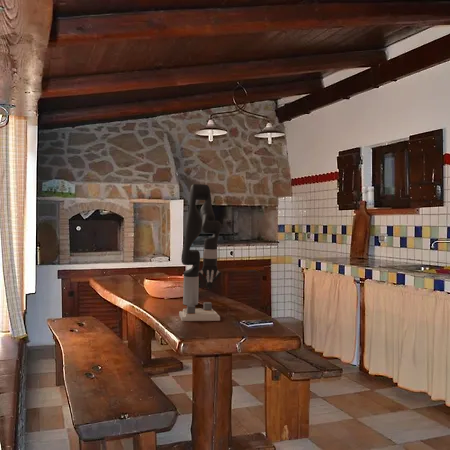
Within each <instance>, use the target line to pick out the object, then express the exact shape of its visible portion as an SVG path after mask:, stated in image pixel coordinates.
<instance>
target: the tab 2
mask: <svg viewBox="0 0 450 450" xmlns="http://www.w3.org/2000/svg"><path fill="white" fill-rule="evenodd" d="M212 306H213V303H212V302H211V301H205V302H204V301H203V308H202V309H203V310H212V309H213V307H212Z"/></svg>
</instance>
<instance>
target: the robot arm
mask: <svg viewBox="0 0 450 450" xmlns="http://www.w3.org/2000/svg"><path fill="white" fill-rule="evenodd" d="M189 189H190V191H189V204H188V214H187V219H186V227H185V236H184V241H183V245H182V246H183V248H182V252H181V263H182V265H184V266H191V268H188V269H186V270H184V271H183V284H182V285H183V289H182V290H183V292H182V293H183V294H182V296H183V297H182V304H183V305H185V306H187V305H195V306H198V305H199V281H200V280H199V277H201V279H202V280H203V281H204V282H206V289H207V290H211V289H212V288H213V282H216V281H217V280H218V279H219V277H220V276H221V275H222V272H221V271H219V269H218V241H219V237H220V233H221V231H222V224H221V222H220V221H219V220H216V216H215V212H214V210H213V206H212V205H213V204H212V195H211V194H212V193H211V189H210V186H209V185H207V184H201V183H193V184H192V185H191V186H190V188H189ZM196 201H204V202H203V204H202V206H201V208H200V212H199V210H198V207H197V205H196V204H197V203H196ZM202 232H203V233H204V234H209V235H210V234H212V236H209V237H206V238H204V241H203V243H204V245H203V257H202V258H203V259H202V268H201V269H200V265H201V252H200V251H199V249H191V247H192V245H193V243H194V242H195V241H196V239H197V238H198V237H199V236H200V234H201V233H202ZM203 274H204V275H205V276H204V275H203Z"/></svg>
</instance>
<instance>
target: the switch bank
mask: <svg viewBox="0 0 450 450" xmlns="http://www.w3.org/2000/svg"><path fill="white" fill-rule="evenodd" d="M178 316H179V318H180V320H181V321H182V322H212V321H213V322H214V321H215V322H216V321H217V322H218V321H221V315H220V314H218V312H216V311H215V310H214V309H213V308H212V310H203V308H195V314H187V308H183V309H182V311H181V310H180V311H179V312H178Z"/></svg>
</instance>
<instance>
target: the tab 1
mask: <svg viewBox="0 0 450 450" xmlns="http://www.w3.org/2000/svg"><path fill="white" fill-rule="evenodd" d="M186 309H187V314H195V309H196V305H186Z"/></svg>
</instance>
